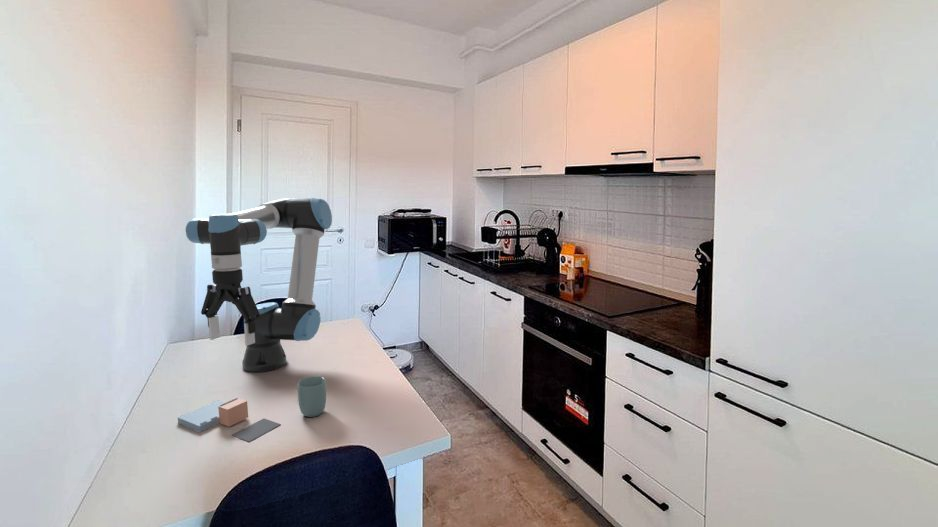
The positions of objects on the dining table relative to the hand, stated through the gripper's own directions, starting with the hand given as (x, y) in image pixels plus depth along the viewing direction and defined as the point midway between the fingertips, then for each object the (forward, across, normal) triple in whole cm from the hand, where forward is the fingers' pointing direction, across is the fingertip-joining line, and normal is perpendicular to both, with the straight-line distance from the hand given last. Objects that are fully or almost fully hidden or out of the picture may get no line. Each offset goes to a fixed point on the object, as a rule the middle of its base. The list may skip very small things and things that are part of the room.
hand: (232, 341), depth 130 cm
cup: (+22, +22, +7) cm, 32 cm away
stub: (+22, +4, -5) cm, 23 cm away
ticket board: (+22, -4, -6) cm, 23 cm away
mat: (+22, +14, -6) cm, 26 cm away
